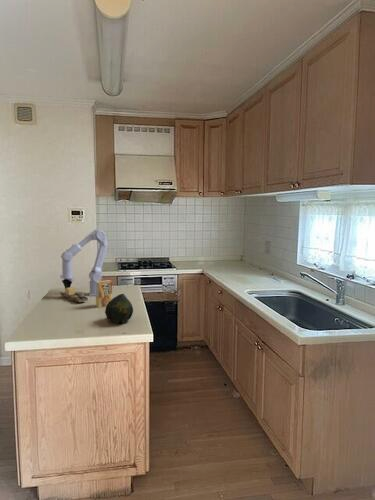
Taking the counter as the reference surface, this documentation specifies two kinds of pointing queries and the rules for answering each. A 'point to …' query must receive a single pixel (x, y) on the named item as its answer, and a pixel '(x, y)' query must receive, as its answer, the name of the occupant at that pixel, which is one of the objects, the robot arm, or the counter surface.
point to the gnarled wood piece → (75, 297)
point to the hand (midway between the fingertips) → (67, 290)
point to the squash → (119, 309)
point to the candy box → (103, 293)
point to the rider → (70, 291)
